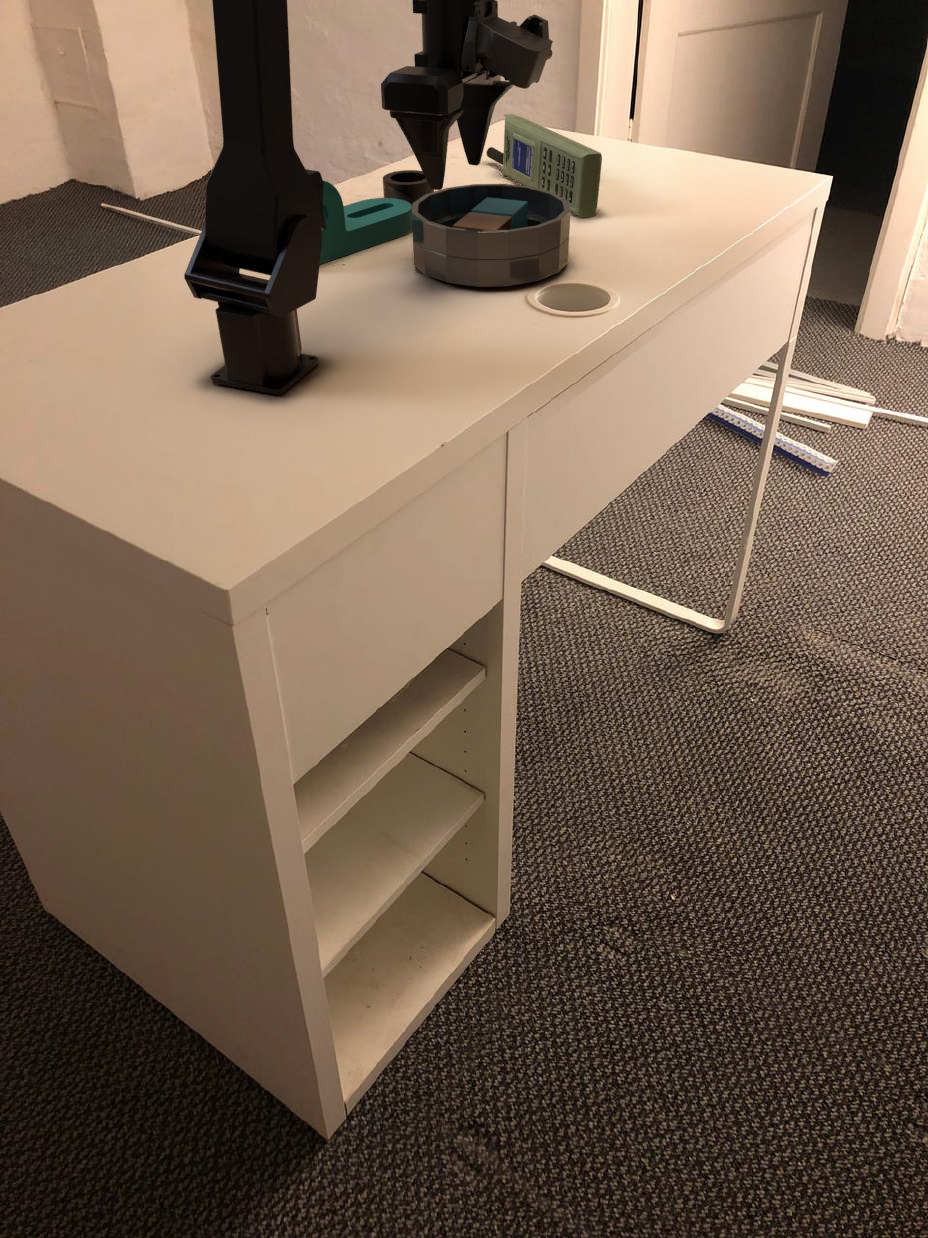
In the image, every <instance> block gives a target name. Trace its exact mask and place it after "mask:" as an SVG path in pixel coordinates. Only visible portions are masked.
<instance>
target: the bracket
mask: <svg viewBox="0 0 928 1238" xmlns="http://www.w3.org/2000/svg"><path fill="white" fill-rule="evenodd" d="M323 183H324V192H323V213H324V219H325V222H326V226H327V228H326V230H322V248H321V257H320V265H322V264H324V263H328V262H330V261H331V262H332V261H333V260H337V259H339V258H342V257H345V256H348V255H351V254H354V253H357V252H359V251H362V250H366V249H368V248H372V247H374V246H377V245H380V244H384V243H386V242H389V241H392V240H394V239H398V238H401V237H404V236H406V235H408V234H410V233H411V232H413V231H412V205H411V204H410V203H409V202H407V201H404V200H400V199H394V198H384V197H375V198H368V199H362V200H358V201H356V202H352V203H349V204H346V205H344V202H343V199H342V195H341V194H340V192H339V190H338V189H337V188H336V186H335V185H333V184H332V183H331V182H329V181H326V180H323Z"/></svg>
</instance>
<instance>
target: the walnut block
mask: <svg viewBox="0 0 928 1238" xmlns="http://www.w3.org/2000/svg"><path fill="white" fill-rule="evenodd" d="M453 228H461V229H470V230H511V229H512V217H510V216H501V215H492V214H483V213H474V212H469V213H468V214H467V215H465V216H464V217H463V218H462V219H460V220H459V221H458V222H457V223H455V224H454V225H453Z"/></svg>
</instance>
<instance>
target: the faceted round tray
mask: <svg viewBox="0 0 928 1238" xmlns="http://www.w3.org/2000/svg"><path fill="white" fill-rule="evenodd" d="M487 197H489V198H499V199H508V200H518V201H527V202H528V220H527V227H524V228H518V229H511V230H470V229H461V228H453V225H454V224H455V223H457V222H458V221H459V220H460V219H462V218H463V217H464V216H465V215H467V214H468V213H469V212H471V210H472V209H473V208H474V207H476V206H477V205H478V204H479V203H481V202H482V201H483V200H484V199H486V198H487ZM571 213H572V212H571V210H570V207H569V204H568V201H567V200H566V199H564V198H562V197H560V196H559V195H557V194H555V193H553V192H550V191H546V190H542V189H538V188H534V187H530V186H524V185H522V184H510V183H509V184H508V183H473V184H465V185H458V186H450V187H445V188H442V189H441V190H434V192H432V193H429V194H425V195H424V196H423V197H421V198H420V199H418V200H417V201H415V202H414V203H413V205H412V231H411V232H412V247H413V248H412V249H413V250H412V251H413V253H412V254H413V265H414V266H415V267H416V268H417V269H419V271H420V272H421V273H423V274H424V275H426V276H428V277H431V278H434V279H437V280H439V281H443V282H445V283H449V284H454V285H458V286H464V287H473V288H474V287H475V288H506V287H507V288H508V287H514V286H520V285H525V284H530V283H534V282H539V281H541V280H544V279H546V278H549V277H551V276H553V275H556V274H558V273H560V272H561V271H562V269H563V268H564V267H565V266H566V265H567V264H568V263H569V249H570V229H571V228H570V227H571Z"/></svg>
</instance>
